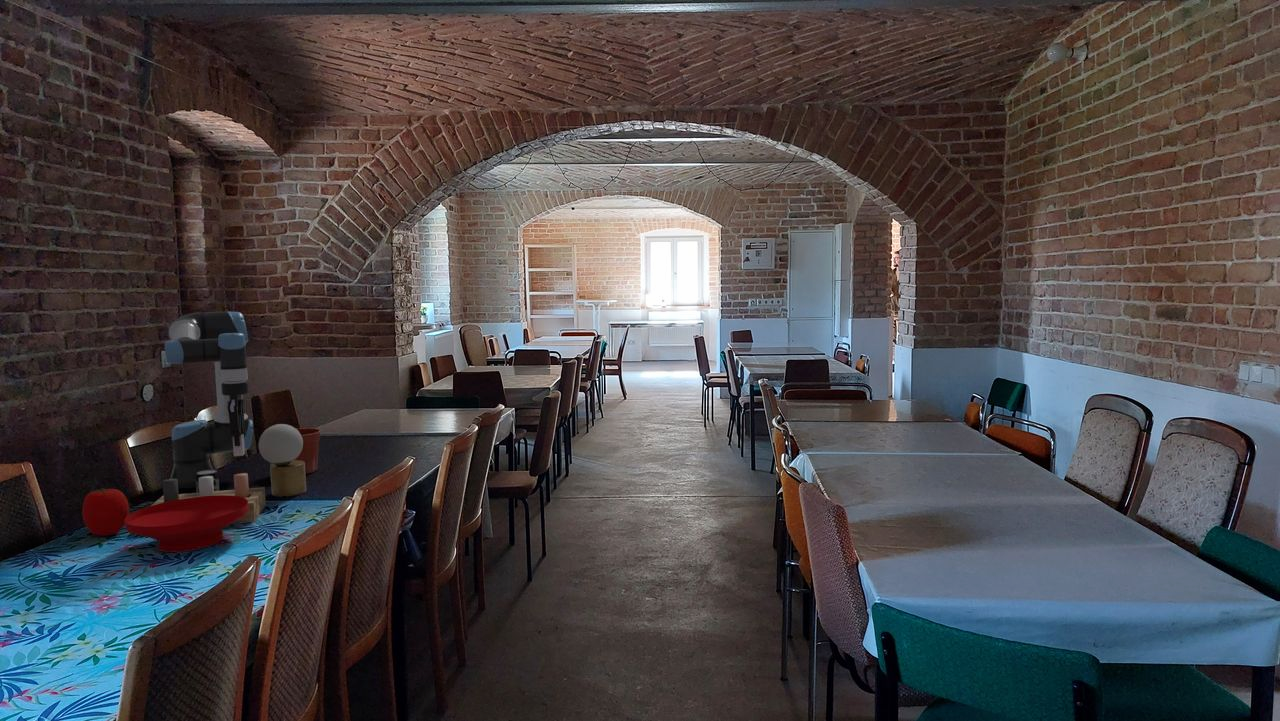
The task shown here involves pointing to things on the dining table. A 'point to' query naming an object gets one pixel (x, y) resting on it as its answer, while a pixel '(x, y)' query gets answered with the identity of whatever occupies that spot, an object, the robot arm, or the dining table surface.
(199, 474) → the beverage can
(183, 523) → the bowl
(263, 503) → the plug board
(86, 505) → the tomato
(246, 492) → the plug terracotta
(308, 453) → the flower pot
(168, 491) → the plug black
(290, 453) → the lamp
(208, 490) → the plug grey
